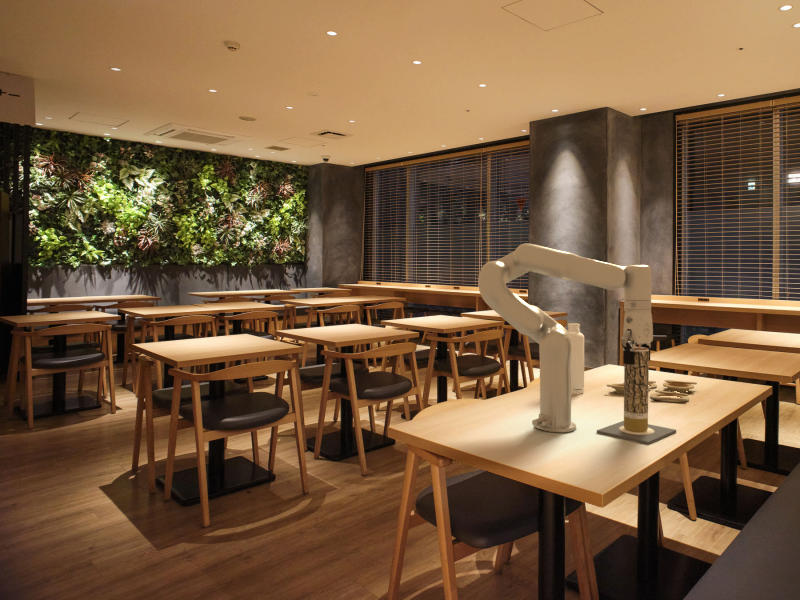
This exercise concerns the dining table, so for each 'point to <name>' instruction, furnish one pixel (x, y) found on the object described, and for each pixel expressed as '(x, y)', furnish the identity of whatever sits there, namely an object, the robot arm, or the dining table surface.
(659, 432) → the card
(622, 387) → the tableware set
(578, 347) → the bottle
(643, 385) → the bark-textured tube
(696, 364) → the dining table surface
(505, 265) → the robot arm
